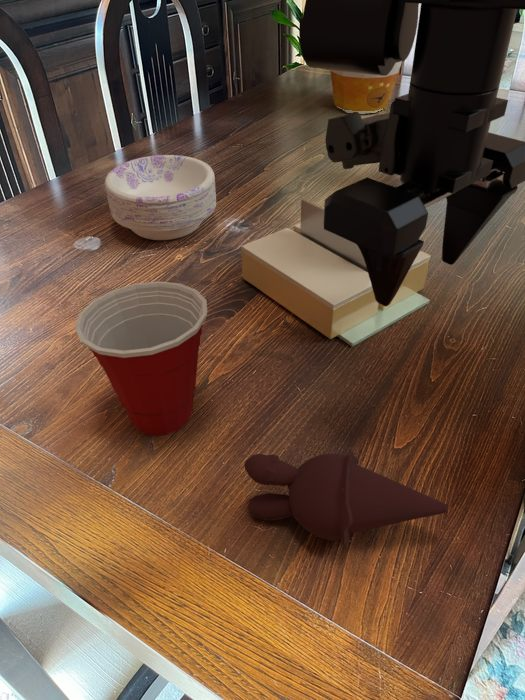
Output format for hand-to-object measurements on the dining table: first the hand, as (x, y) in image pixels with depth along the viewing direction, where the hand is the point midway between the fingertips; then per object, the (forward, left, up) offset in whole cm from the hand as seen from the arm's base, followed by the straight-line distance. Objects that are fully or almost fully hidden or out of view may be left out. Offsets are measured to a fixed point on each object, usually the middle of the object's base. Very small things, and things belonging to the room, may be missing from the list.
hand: (416, 282), depth 47 cm
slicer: (+9, -17, -9) cm, 21 cm away
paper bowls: (+35, -28, -13) cm, 46 cm away
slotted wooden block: (+9, -17, -13) cm, 23 cm away
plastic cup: (+22, +8, -13) cm, 26 cm away
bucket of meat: (+13, -91, -13) cm, 93 cm away
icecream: (+4, +16, -13) cm, 21 cm away
